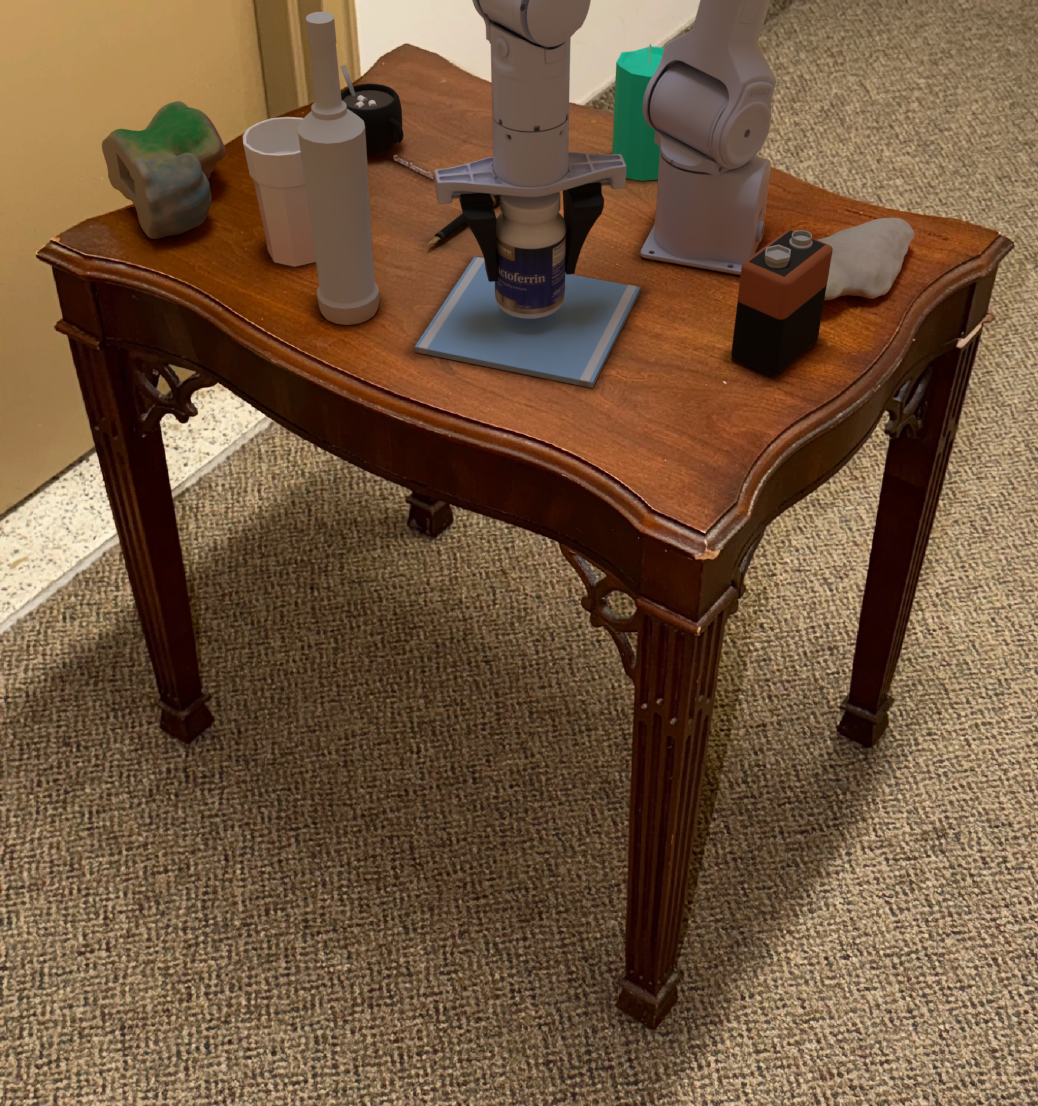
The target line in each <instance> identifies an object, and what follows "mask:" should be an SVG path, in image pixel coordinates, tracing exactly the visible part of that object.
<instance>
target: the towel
mask: <svg viewBox="0 0 1038 1106" xmlns="http://www.w3.org/2000/svg"><path fill="white" fill-rule="evenodd" d="M640 294H641V287H640V286H637V285H632V284H625V283H621V282H615V281H608V280H604V279H598V278H592V277H587V276H582V275H577V274H568V275H566V272H565V295H564V301H563V304H562V305H561V307H560V308H559V309H558V310H557V311H556V312H554V313H552V314H551V315H548V316H545V317H541V318H535V319H526V318H518V317H515V316H512V315H509V314H507V313H506V312H504V311H503V310H502V309H501V308H500V307H499V306H498V304H497V302H496V299H495V281H494V282H489V281H488V277H487V273H486V269H485V261H484V257H480V256H474V257H473V258H472V260H471V261H470V263H469V264H468V266H467V267H466V268H465V270H464V271H463V273H462V275H461V276H460V277H459V279H458V281H457V282H456V284H455V285H454V286H453V288H452V290H451V291H450V292H449V294H448V296H447V297H446V299H445V300H444V302H443V303H442V305H441V306H440V308H439V309H438V311H437V312H436V314H435V315H434V317H433V318H432V320H431V321H430V322H429V324H428V326H427V327H426V329H425V331H424V332H423V333H422V335H421V336H420V338H419V339H418V341H417V342H416V344H415V345H414V352H415V353H416V354H417V353H418V354H421V355H422V354H423V355H426V356H427V355H428V356H432V357H437V358H442V359H448V360H452V361H456V362H462V363H466V364H472V365H477V366H482V367H487V368H492V369H496V370H500V371H507V372H512V373H516V374H521V375H526V376H532V377H536V378H541V379H545V380H550V381H556V382H561V383H566V384H570V385H575V386H580V387H586V388H591V389H593V388H594V386H595V384H596V382H597V381H598V378H599V376H600V374H601V372H602V370H603V368H604V366H605V364H606V362H607V360H608V358H609V356H610V354H611V352H612V350H613V348H614V346H615V344H616V342H617V340H618V338H619V336H620V334H621V332H622V330H623V328H624V326H625V324H626V321H627V319H628V318H629V316H630V314H631V312H632V310H633V308H634V306H635V303H636V301H637V300H638V298H639V296H640Z"/></svg>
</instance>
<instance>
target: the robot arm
mask: <svg viewBox="0 0 1038 1106" xmlns="http://www.w3.org/2000/svg"><path fill="white" fill-rule="evenodd" d="M471 1H472V4H473V7H474V9H475V10H476V12H477V13H478V15H479V16H480V17H481V18H482V20H483V22H484V25H485V40H486V41H488V42H489V44H490V77H491V78H490V79H491V82H490V83H491V85H490V86H491V122H492V123H491V125H492V126H491V127H492V129H491V130H492V156H488V157H484V158H482V159H477V160H474V161H470V162H467V163H463V164H459V165H456V166H452V167H447V168H438V169H437V168H436V169H435V170H434V188H435V195H436V200H437V204H438V205H451V204H452V203H453V200H456V199H458V200H459V204H460V208H461V212H462V213H463V216H464V218H465V220H466V223H467V225H466V226H467V227H468V228H469V229H470V232H471V233H472V234H473V236H474V238H475V240H476V242H477V244H478V246H479V249H480V252H481V254H482V257H483V258H484V261H485V269H486V273H487V277H488V281H489V282H494V281H497V280H498V270H497V260H496V249H495V247H496V224H497V215H496V212H495V208H494V207H495V206H494V203H493V200H492V197H491V196H492V195H509V196H520V197H540V196H546V195H550V194H553V193H557V192H560V193H561V192H562V208H563V211H562V212H563V215H562V216H563V218H564V220H565V223H566V266H565V273H566V275H568V274H571V275H575V273H576V268H577V264H578V261H579V257H580V254H581V251H582V248H583V246H584V243H585V241H586V239H587V237H588V235H589V233H590V231H591V229H592V228H593V226H594V225H595V224H596V222H597V220H598V219H599V218H600V216H601V215H602V213H603V211H604V206H605V197H604V195H603V193H602V192H603V191H602V190H603V188H602V187H606V186H610V188H611V189H612V190H622V189H626V181H627V178H626V164H625V162H624V160H623V157H622V155H621V154H612V153H611V154H608V153H606V154H602V153H590V152H580V151H579V152H578V151H569V145H570V144H569V142H570V136H569V135H570V87H571V86H570V83H571V81H570V80H571V79H570V77H571V37H573V36H574V35H575V33H576V32H577V31H578V30H580V29H581V28H582V27H583V25H584V24H585V21H586V19H587V16H588V14H589V10H590V6H591V2H592V1H591V0H471ZM771 1H772V0H700V1H699V3H698V6H697V7H698V8H697V11H696V15H695V19H694V23H693V26H692V29H690V30H688V31H687V32H685V33H683V34H681V35H679V36H676V37H675V38H672V39H671V40H669V41H667V42H666V43H665V45H664V47H663V48H664V51H663V55H662V58H661V61H660V64H659V66H658V68H657V70H656V71H655V73H654V75H653V76H652V78H651V79H650V81H649V83H648V85H647V88H646V91H645V94H644V99H643V115H644V118H645V121H646V122H647V124H648V125H649V126H650V127H651V128H653V129H655V143H656V144H657V145H658V146H659V147H660V158H659V173H658V179H657V187H656V203H655V217H654V224H653V226H652V228H651V230H650V232H649V234H648V236H647V238H646V240H645V241H644V244H643V245H642V248H641V249H640V252H639V253H640V254H639V255H640V257H642V258H644V259H647V260H648V259H649V260H653V261H654V260H655V261H659V262H664V263H665V262H666V263H671V264H677V265H682V266H688V267H693V268H698V269H705V270H710V271H715V272H720V273H722V272H723V273H727V274H732V275H738V276H740V275H741V267H742V264H743V263H744V262H745V261H746V260H747V259H749V258H750V257H751V256H753V255H754V254H755V253H757V249H758V248H759V244H760V243H761V242H762V239H763V236H764V233H765V225H766V224H765V219H766V210H767V204H768V195H769V188H770V181H771V171H772V170H771V169H772V168H771V167H772V163H771V159H767V158H764V157H761V156H759V155H758V153H759V152H760V150H761V149H762V148H763V146H764V144H765V143H766V141H767V139H768V136H769V133H770V129H771V122H772V99H773V95H774V91H775V88H776V84H777V79H776V77H775V73H774V72H773V70H772V69H771V67H770V65H769V63H768V61H767V59H766V57H765V56H764V53H763V51H762V50H761V48H760V45H759V42H760V37H761V34H762V31H763V27H764V24H765V21H766V18H767V14H768V11H769V7H770V4H771Z"/></svg>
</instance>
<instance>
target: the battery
mask: <svg viewBox="0 0 1038 1106" xmlns="http://www.w3.org/2000/svg"><path fill="white" fill-rule="evenodd" d="M832 251H833V249H832V246H830V245H828V244H826V243H823V242H821V241H818V239H816V238H814V237H813V234H812V232H810V231H808V230H804V229H798V230H793V229H786V230H785V231H784V232H782V233H780V235H778V236H777V237H775V238H774V239H773V240H771V241H770V242H769V243H767V244H766V245H765V246H763V247H762V248H761V249H759V250H758V251H756V252H755V254H754V255H753V256H751V257H750V258H749V259H747V260H746V261H745V262H744V263H743V264H742V267H741V275H739V285H738V286H739V287H738V292H737V293H738V294H737V300H736V301H737V303H736V308H735V309H736V310H735V319H734V326H733V327H734V328H733V335H732V343H731V344H732V345H731V353H730V356H731V359H733V360H734V361H736V362H739V363H741V364H742V365H745V366H747V367H749V368H751V369H753V370H755V371H758V372H760V373H761V374H764V375H767V376H769V377H771V378H773V377H776V376H777V375H779V374H780V373H781V372H782V371H784V370H785V369H786V368H787V367H789V366H790V365H791V364H792V363H793V362H794V361H795V360H797V359H798V358H799V357H800V356H802V355H803V354H804V353H805V352H806V351H808V350H809V349H810V348H811V347H812V346H814V344H816V343H817V342H818V339H819V335H820V328H821V322H822V317H823V311H824V304H825V300H824V299H825V293H826V287H827V281H828V276H829V270H830V264H831V258H832Z"/></svg>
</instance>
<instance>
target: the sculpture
mask: <svg viewBox="0 0 1038 1106" xmlns="http://www.w3.org/2000/svg"><path fill="white" fill-rule="evenodd" d="M218 131H219V130H218V129H217V128H216V126H215V125H214V122H213V121H212V120H211V118H210V117H209V116H208V115H207V114H206V113H205V112H203V111H202V110H200V109H198V108H194V107H191V106H188V105H187V104H186V103H185V102H183V101H181V100H177V101H172V102H169V103H167V104H165V105H163V106H161V108H159V109H158V110H157V111H156V113H155V114H154V116H152V118H151V120H150V121H149V123H148V124H147V126H146V127H145V129H142V130H132V129H126V128H118V129H114V130H113V131H111V132H110V133H109V134H108V135H107V136H106V137H105V138H104V139H103V140H102V142H101V151H102V154H103V158H104V160H105V161H104V162H105V164H106V169H107V177H108V180H109V182H110V185H111V186H112V188H113V189H115V190H117V191H119V192H120V194H122V195H123V197H124V198H125V199H126V200H129V201H131V202H132V204H133V206H134V208H135V211H136V213H137V218H138V219H137V220H138V223H139V225H140V228H141V229H142V231H143V233H145V236H147V237H148V238H149V239H152V240H156V239H157V240H158V239H161V238H166V237H168V236H169V237H170V236H178V235H181V234H183V233H184V234H185V233H186V232H188V231H190V230H193V229H195V228H198V227H199V226H201V225H203V224H204V222H205V221H206V219H207V217H208V216H209V215H208V214H209V211H210V207H211V206H212V199H213V197H212V192H211V185H210V181H209V179H210V178H211V175H212V172H213V171H214V169H215V167H216V166H217V163H218V162H220V161H221V160H223V159H224V158H225V157H226V153H227V150H226V146H225V144H224V142H223V139H222V137H221V135H220V133H219V132H218Z"/></svg>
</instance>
